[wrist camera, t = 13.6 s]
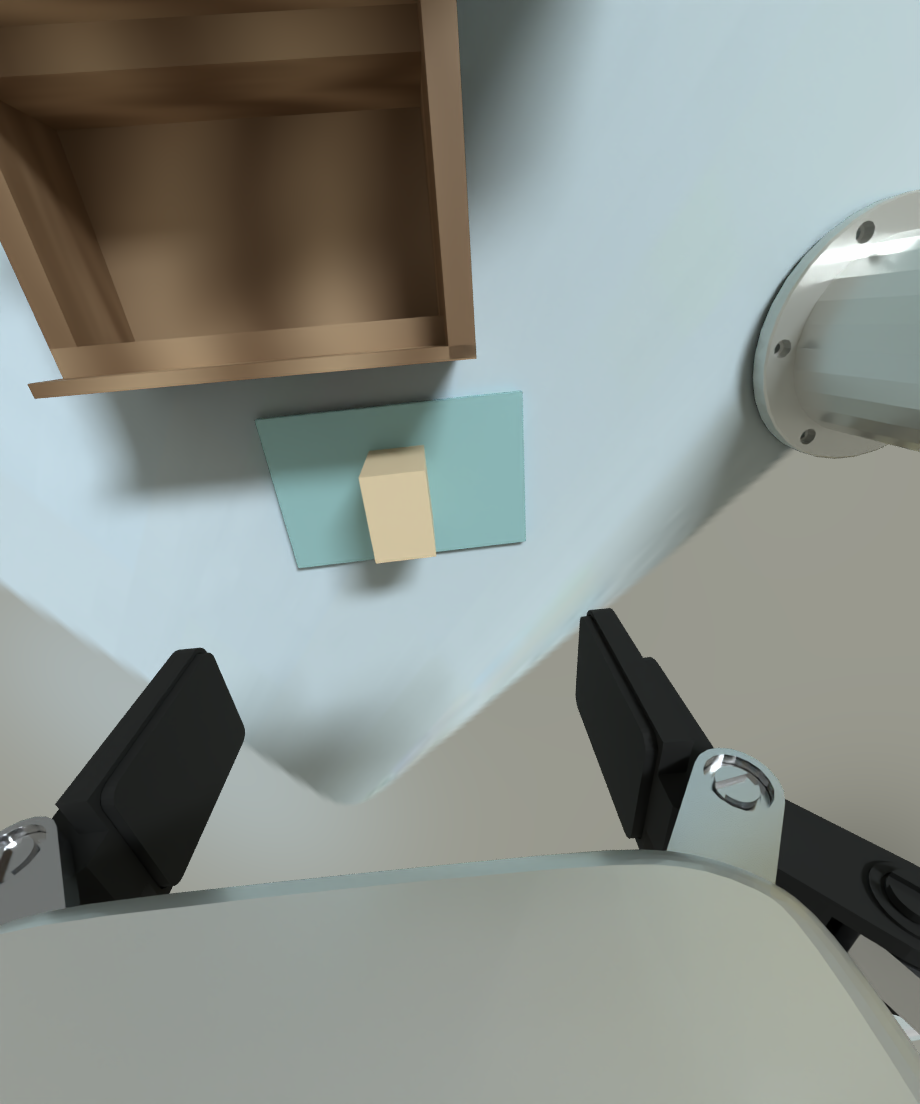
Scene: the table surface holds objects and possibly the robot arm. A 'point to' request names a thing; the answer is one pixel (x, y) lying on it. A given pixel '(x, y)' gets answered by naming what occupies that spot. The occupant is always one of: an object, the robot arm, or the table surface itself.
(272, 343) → the walnut box
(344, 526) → the cover plate
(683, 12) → the table surface
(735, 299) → the table surface
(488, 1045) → the robot arm
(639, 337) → the table surface
